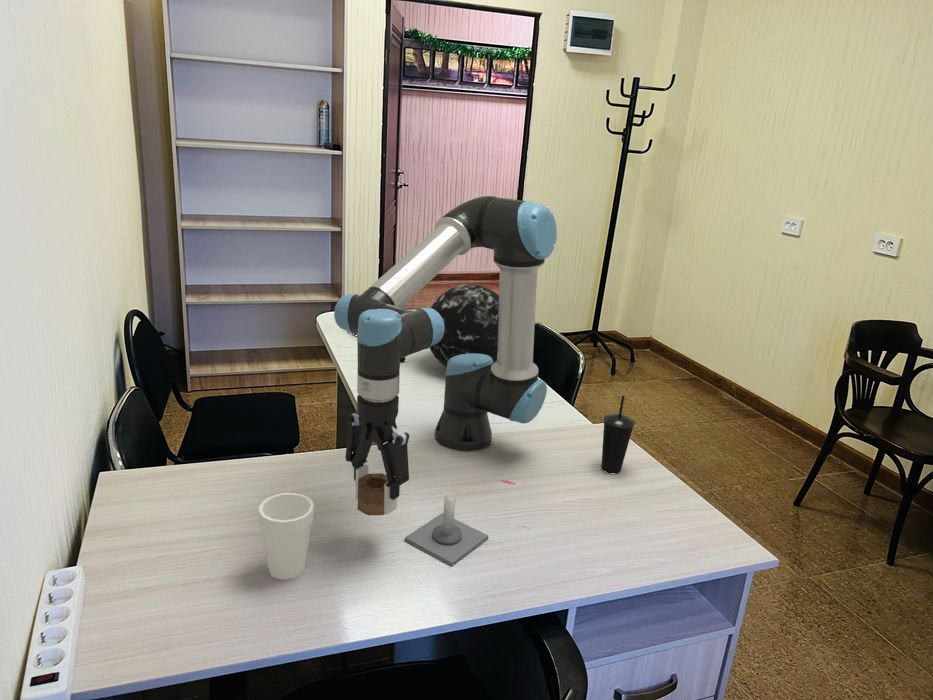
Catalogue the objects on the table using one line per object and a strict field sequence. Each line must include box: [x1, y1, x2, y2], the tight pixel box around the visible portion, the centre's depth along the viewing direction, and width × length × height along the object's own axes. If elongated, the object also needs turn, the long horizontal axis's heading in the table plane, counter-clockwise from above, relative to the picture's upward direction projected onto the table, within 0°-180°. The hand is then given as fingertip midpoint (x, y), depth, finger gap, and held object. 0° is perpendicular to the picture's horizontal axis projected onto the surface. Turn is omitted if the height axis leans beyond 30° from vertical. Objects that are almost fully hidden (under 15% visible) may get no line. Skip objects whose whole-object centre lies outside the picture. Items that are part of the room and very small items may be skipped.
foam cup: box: [257, 492, 315, 581], centre depth 119 cm, size 10×9×13 cm
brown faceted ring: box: [357, 472, 388, 516], centre depth 127 cm, size 7×7×5 cm
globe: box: [428, 283, 499, 368], centre depth 222 cm, size 30×30×30 cm
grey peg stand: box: [404, 494, 489, 567], centre depth 132 cm, size 12×12×10 cm
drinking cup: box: [601, 395, 636, 475], centre depth 164 cm, size 8×8×20 cm
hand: (375, 503), depth 128 cm, fingers closed on brown faceted ring, 7 cm apart
